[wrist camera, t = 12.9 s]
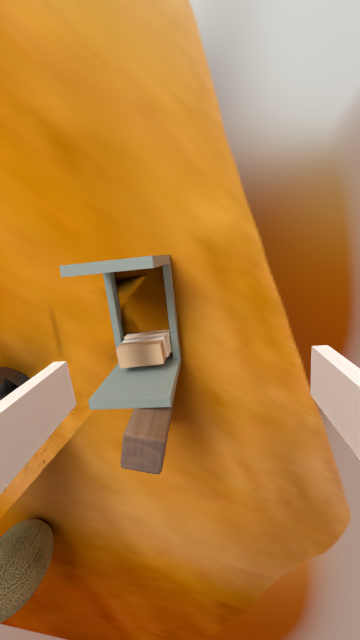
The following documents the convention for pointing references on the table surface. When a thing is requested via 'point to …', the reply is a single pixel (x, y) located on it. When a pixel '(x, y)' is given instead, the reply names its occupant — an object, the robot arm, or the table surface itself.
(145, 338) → the offcut mid
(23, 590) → the fruit
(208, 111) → the table surface
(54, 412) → the robot arm
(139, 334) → the offcut low
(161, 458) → the wooden block
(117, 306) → the rack
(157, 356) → the offcut top
